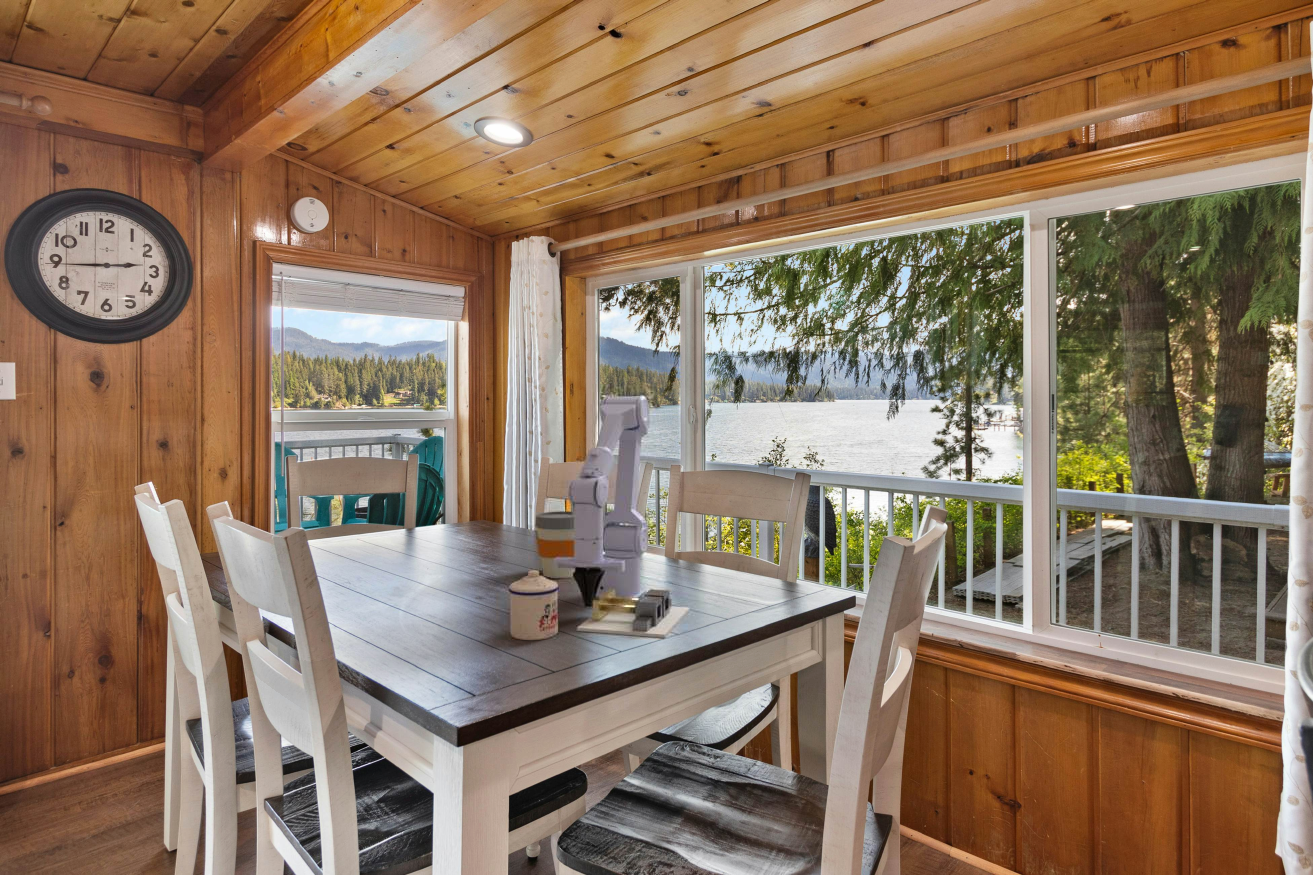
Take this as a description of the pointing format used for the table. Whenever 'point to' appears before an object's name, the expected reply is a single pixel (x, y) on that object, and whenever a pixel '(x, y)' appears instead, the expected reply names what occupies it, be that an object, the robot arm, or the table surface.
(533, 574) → the teacup with lid
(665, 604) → the dark grey notched block
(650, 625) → the chain end near
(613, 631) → the mat
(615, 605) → the gold metal bracket
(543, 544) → the reusable coffee cup
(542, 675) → the table surface
